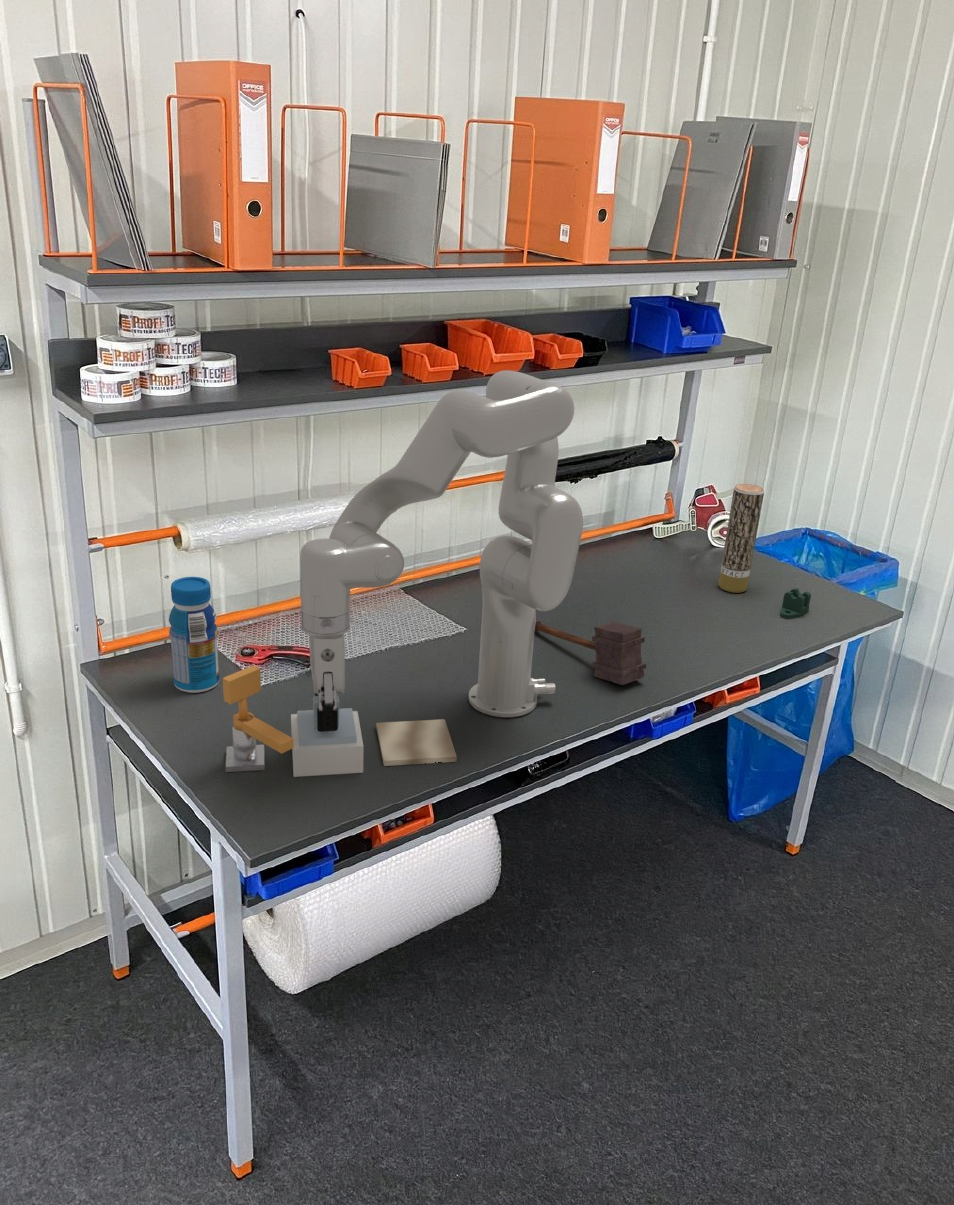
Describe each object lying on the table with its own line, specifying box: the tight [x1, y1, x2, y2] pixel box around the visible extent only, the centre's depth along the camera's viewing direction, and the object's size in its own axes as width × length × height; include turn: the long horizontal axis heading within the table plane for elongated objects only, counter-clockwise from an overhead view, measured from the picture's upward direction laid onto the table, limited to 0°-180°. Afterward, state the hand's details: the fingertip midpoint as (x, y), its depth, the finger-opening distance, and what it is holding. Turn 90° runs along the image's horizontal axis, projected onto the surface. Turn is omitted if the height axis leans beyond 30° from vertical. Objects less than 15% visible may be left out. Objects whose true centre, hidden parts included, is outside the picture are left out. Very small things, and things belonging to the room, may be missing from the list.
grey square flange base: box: [225, 724, 265, 773], centre depth 163 cm, size 6×6×6 cm
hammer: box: [534, 618, 647, 686], centre depth 205 cm, size 7×33×10 cm, turn 38°
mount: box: [779, 587, 812, 620], centre depth 231 cm, size 11×4×5 cm, turn 137°
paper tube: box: [718, 483, 765, 594], centre depth 238 cm, size 7×7×25 cm
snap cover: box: [296, 694, 357, 746], centre depth 164 cm, size 9×9×6 cm
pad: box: [375, 718, 458, 767], centre depth 171 cm, size 12×12×1 cm
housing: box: [290, 710, 364, 778], centre depth 166 cm, size 11×11×5 cm
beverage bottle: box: [168, 576, 220, 694], centre depth 183 cm, size 8×8×20 cm
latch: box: [222, 664, 294, 755], centre depth 157 cm, size 12×6×9 cm, turn 50°
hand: (326, 718), depth 164 cm, fingers open, 5 cm apart
